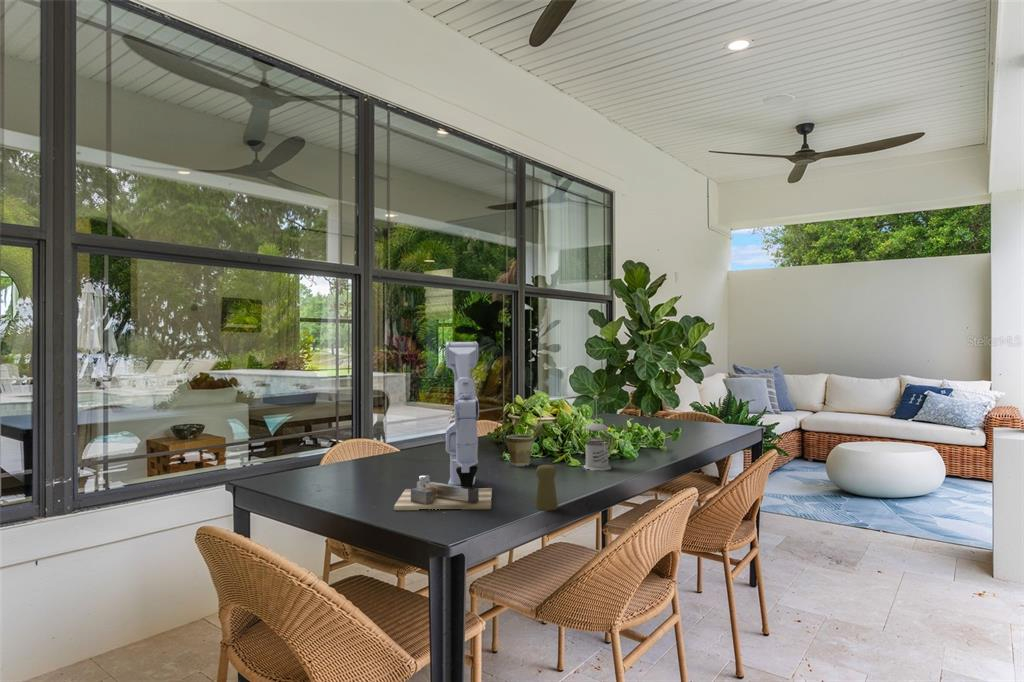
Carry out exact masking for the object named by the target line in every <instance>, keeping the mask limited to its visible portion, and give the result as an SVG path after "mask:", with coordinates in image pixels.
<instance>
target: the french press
mask: <svg viewBox="0 0 1024 682" xmlns="http://www.w3.org/2000/svg"><path fill="white" fill-rule="evenodd" d="M593 399H594V400H595V411H596V412H595V423H590V424H589V425H587V426H585V427H584V429H585V430H586V431H592V432H595V433H596V435H595V437H590V438H586V439H585V440H586V443H585V447H584V448H585V449H584V451H585V464H584V465H583V466H582V468H583V467H584V468H585V469H584V468H583V469H584V470H587V469H590V470H589V471H595V470H601V471H609V470H611V469H612V467H611V466H610V465H609V452H610V451H611V449H612V448H613V444H614V440H613V439H614V438H613V435H612V433H611V432H609V431H608V430H609V427H608V426H607V425H605V424H604V423H603V424H602V423H599V422H598V419H597V418H598V413H597V412H598V411H597V409H598V408H597V406H598V401H597V399H598V400H599V399H600V396H599V395H594V396H593ZM599 431H600V432H602V434H603V436H607V437H608V439H607V438H604V437H603V438H601V437H600V438H599V437H598V432H599ZM604 432H605V433H604ZM610 437H611V439H610ZM610 440H611V441H610ZM607 441H608V443H607ZM605 442H606V443H605ZM610 443H611V447H610ZM609 447H610V449H609Z"/></svg>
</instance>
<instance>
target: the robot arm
mask: <svg viewBox="0 0 1024 682" xmlns="http://www.w3.org/2000/svg"><path fill="white" fill-rule="evenodd" d="M479 349H480V348H479V343H478V342H477V341H476V340H475V341H446V343H445V350H444V351H445V365H446V368H449V369H450V370H452V373H453V376H454V377H453V378H454V381H453V382H454V385H453V390H454V402H453V403H454V404H453V409H454V411H453V413H454V414H453V415H454V416H453V417H454V420H453V422H452V423H451V424H450V425H448V426H447V427H446V429H445V452H446V453H447V454H449V472H450V475H449V476H450V477H449V479H448V483H447V484H449V485H456V486H463V487H470V488H473V486H474V485H475V482H476V473H477V472H478V469H479V468H478V466H477V464H478V463H479V459H478V450H479V436H478V421H479V417H480V407H479V406H480V404H479V399H478V396H477V395H476V394H477V393H476V383H475V381H474V380H473V379H472V378H471V369H474V368H476V367H477V364H478V361H479Z"/></svg>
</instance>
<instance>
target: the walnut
mask: <svg viewBox="0 0 1024 682" xmlns="http://www.w3.org/2000/svg"><path fill="white" fill-rule="evenodd" d="M425 489H427V490H432V491H433V499H434V498H435V497H436V495H437V491H436V489H435V488H434V487H433V486H428V487H426V488H425Z"/></svg>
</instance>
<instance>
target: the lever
mask: <svg viewBox="0 0 1024 682" xmlns="http://www.w3.org/2000/svg"><path fill="white" fill-rule="evenodd" d="M430 477H431V476H430V475H429V474H422V475H419V480H418V481H416V488H417V487H418V488H423V489H425V488H426V487H428V486H433V487H434V488H435V489H436V491H437V495H436V496H437V497H444V498H450V499H456V500H463V501H468V502H474V503H475V502H477V501H479V491H478V487H472V488H470V487H463V486H461V485H449V484H448V483H441V482H434V481H430V480H431V479H430Z"/></svg>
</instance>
